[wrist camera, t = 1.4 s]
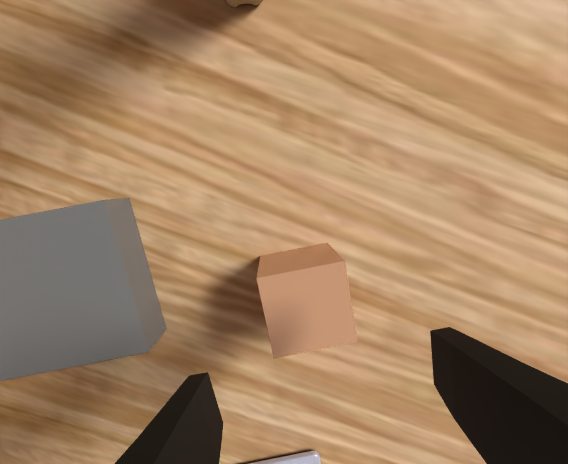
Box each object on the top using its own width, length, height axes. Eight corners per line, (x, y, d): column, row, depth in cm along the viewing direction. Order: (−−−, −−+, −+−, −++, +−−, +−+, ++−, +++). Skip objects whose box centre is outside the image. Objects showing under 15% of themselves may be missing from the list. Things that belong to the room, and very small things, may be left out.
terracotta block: (337, 305, 19) (357, 341, 14) (273, 317, 19) (273, 358, 14) (327, 242, 18) (345, 261, 14) (260, 255, 18) (256, 278, 14)
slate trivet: (168, 326, 19) (149, 351, 16) (40, 350, 19) (-3, 381, 16) (132, 197, 17) (103, 199, 14) (-7, 224, 17) (-64, 232, 14)
